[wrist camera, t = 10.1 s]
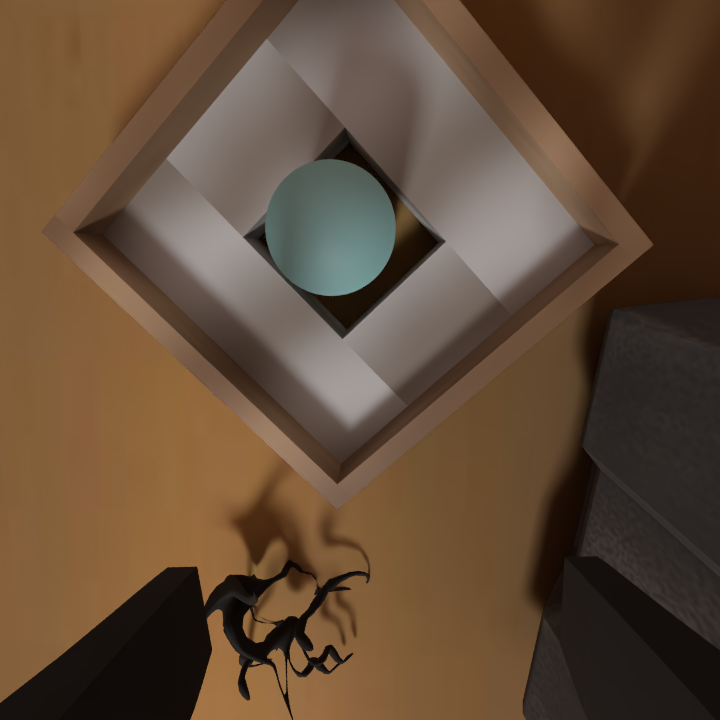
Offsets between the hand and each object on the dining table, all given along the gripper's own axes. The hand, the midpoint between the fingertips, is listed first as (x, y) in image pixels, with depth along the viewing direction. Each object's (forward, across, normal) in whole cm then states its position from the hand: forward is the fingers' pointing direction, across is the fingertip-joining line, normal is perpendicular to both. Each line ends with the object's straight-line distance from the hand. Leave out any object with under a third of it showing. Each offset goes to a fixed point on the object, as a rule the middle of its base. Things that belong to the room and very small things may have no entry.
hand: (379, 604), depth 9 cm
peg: (+10, +1, -7) cm, 12 cm away
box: (+10, +1, -7) cm, 12 cm away
